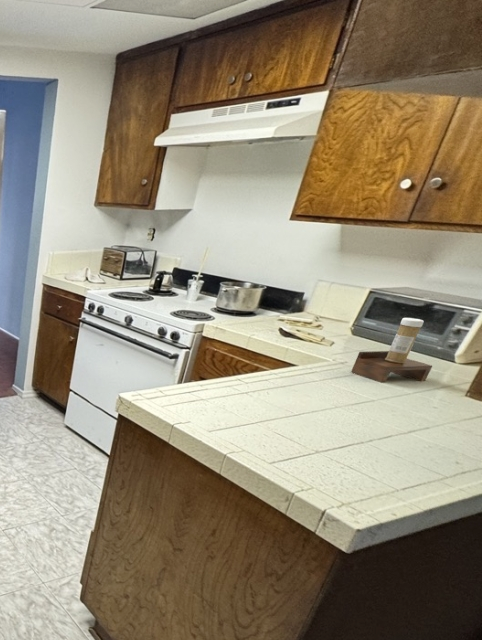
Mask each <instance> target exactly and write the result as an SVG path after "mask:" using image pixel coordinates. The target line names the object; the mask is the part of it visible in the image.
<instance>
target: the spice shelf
mask: <svg viewBox="0 0 482 640" xmlns="http://www.w3.org/2000/svg"><path fill="white" fill-rule="evenodd" d="M388 352H389V350H370V351H359V352H358V355H357V356H356V359H355V361H354V364H353V366H352V368H351V371H350V373H351V372H352V373H351V374H354V373H355V375H357V376H360V377H364V378H367V379H369V380H373V381H376V382H379V383H386V382H387V379H388V377H389V376H390V373H393V374H397V375H400V376H403V377H407V378H410V379H413V380H415V381H419V382H425V381H426V380H427V378H428V377H429V375H430V372H431V370H432V368H433V365H432V364H428V363H424V362H421V361H417V360H413V359H410V358H408V357H407V358H406V361H405V363H393V362H389V361H387V360H385V358H386V357H387V355H388Z"/></svg>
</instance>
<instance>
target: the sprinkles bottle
mask: <svg viewBox="0 0 482 640" xmlns="http://www.w3.org/2000/svg"><path fill="white" fill-rule="evenodd" d="M424 323H425V321H424V320H423V319H420V318H414V317H403V318H402V319H401V321H400V325H399V327H398V329H397V332H396V334H395V336H394V338H393V341H392V343H391V345H390V346H389V350H388V351H389V352H388V355H387V357H386V358H385V360H387V361H389V362H393V363H405V361H406V358H407V359H408V356H409V354H410V352H411V350H412V349H413V346H414V343H415V341H416V338H417V337H418V335H419V332H420V329H421V328H422V327H423V325H424Z"/></svg>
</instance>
